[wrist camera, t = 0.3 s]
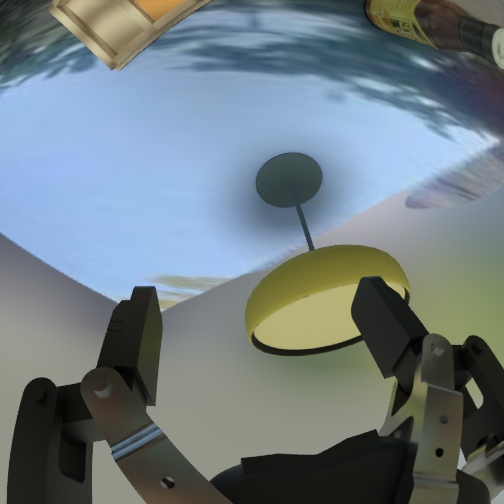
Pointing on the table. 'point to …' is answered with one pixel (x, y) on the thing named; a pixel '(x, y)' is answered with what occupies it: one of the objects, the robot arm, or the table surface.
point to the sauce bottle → (439, 27)
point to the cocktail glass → (311, 275)
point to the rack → (120, 24)
